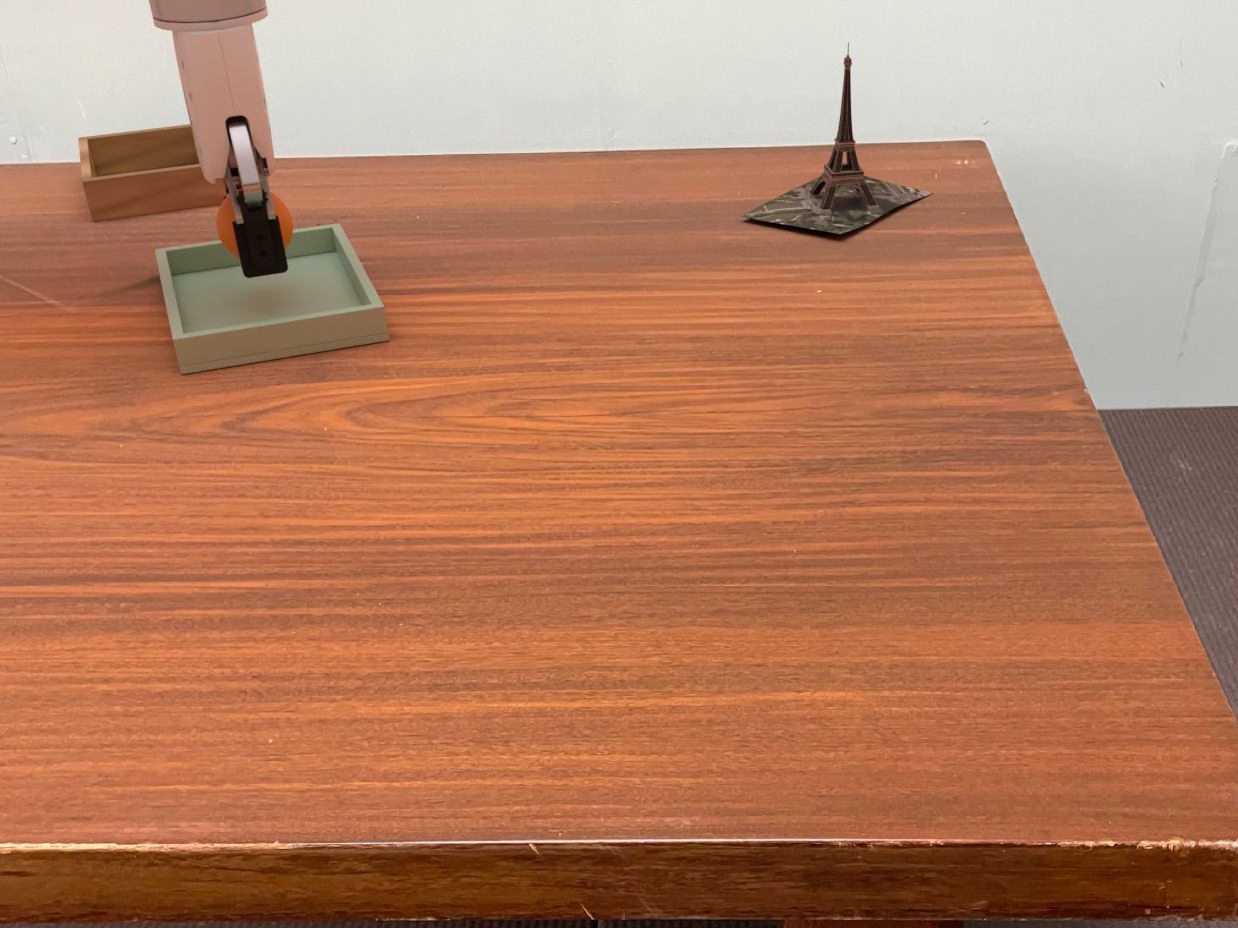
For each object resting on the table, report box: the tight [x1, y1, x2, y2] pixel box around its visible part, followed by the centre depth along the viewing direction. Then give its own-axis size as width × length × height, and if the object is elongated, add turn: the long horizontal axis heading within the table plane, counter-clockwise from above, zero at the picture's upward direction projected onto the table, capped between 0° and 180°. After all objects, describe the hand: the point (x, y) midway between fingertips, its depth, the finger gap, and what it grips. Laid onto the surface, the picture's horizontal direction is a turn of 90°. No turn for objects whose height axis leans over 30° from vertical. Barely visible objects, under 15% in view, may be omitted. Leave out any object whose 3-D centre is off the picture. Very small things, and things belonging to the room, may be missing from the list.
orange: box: [216, 188, 294, 268], centre depth 107 cm, size 5×5×6 cm
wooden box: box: [77, 123, 228, 223], centre depth 133 cm, size 15×12×4 cm
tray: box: [154, 222, 390, 375], centre depth 110 cm, size 20×15×3 cm
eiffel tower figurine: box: [740, 42, 933, 235], centre depth 122 cm, size 15×10×13 cm
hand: (260, 257), depth 108 cm, fingers closed on orange, 5 cm apart
